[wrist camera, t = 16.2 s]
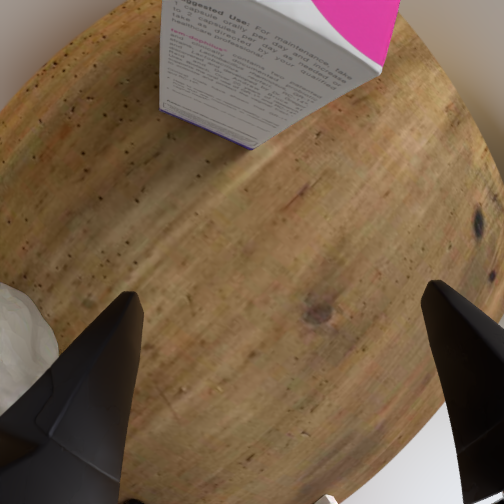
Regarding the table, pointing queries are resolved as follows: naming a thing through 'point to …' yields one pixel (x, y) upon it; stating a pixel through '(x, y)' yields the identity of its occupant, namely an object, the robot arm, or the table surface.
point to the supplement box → (266, 60)
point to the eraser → (326, 500)
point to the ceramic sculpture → (22, 345)
